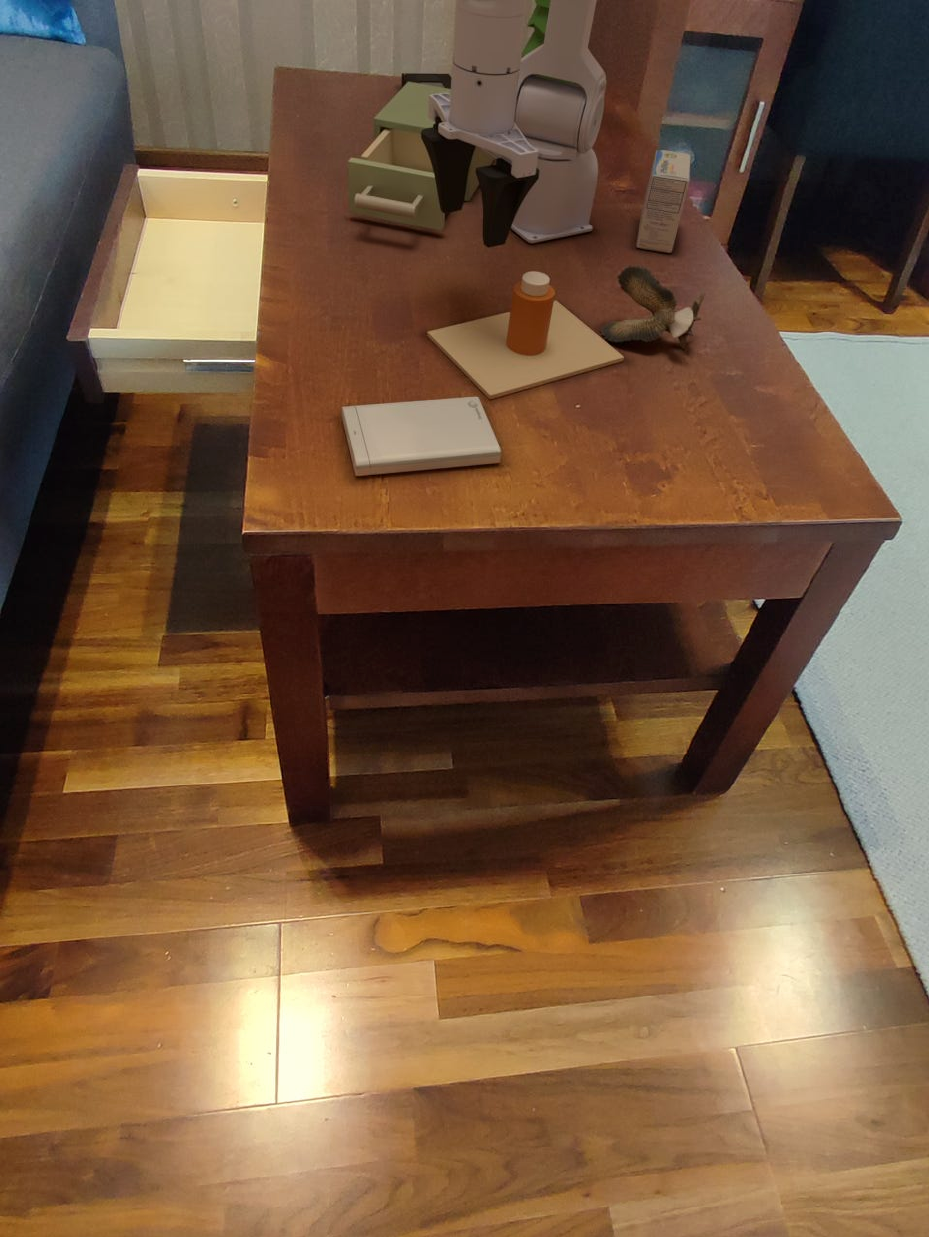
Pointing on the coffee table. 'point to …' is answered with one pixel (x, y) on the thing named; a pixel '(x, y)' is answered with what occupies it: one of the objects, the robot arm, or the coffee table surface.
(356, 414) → the hard drive
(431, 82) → the vhs tape
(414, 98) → the cabinet
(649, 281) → the eagle figurine
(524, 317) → the bottle
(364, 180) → the drawer
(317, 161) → the coffee table surface
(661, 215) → the medicine box
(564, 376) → the mat
